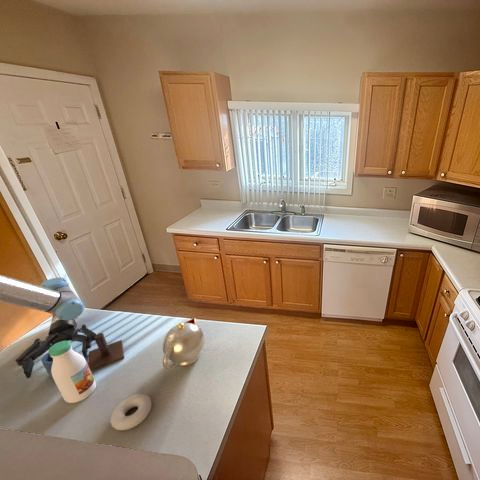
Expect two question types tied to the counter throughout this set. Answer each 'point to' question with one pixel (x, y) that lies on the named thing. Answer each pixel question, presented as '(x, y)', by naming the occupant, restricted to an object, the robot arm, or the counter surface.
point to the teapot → (183, 344)
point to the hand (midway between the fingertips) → (57, 364)
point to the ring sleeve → (48, 364)
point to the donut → (128, 422)
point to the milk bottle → (71, 373)
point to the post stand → (105, 353)
